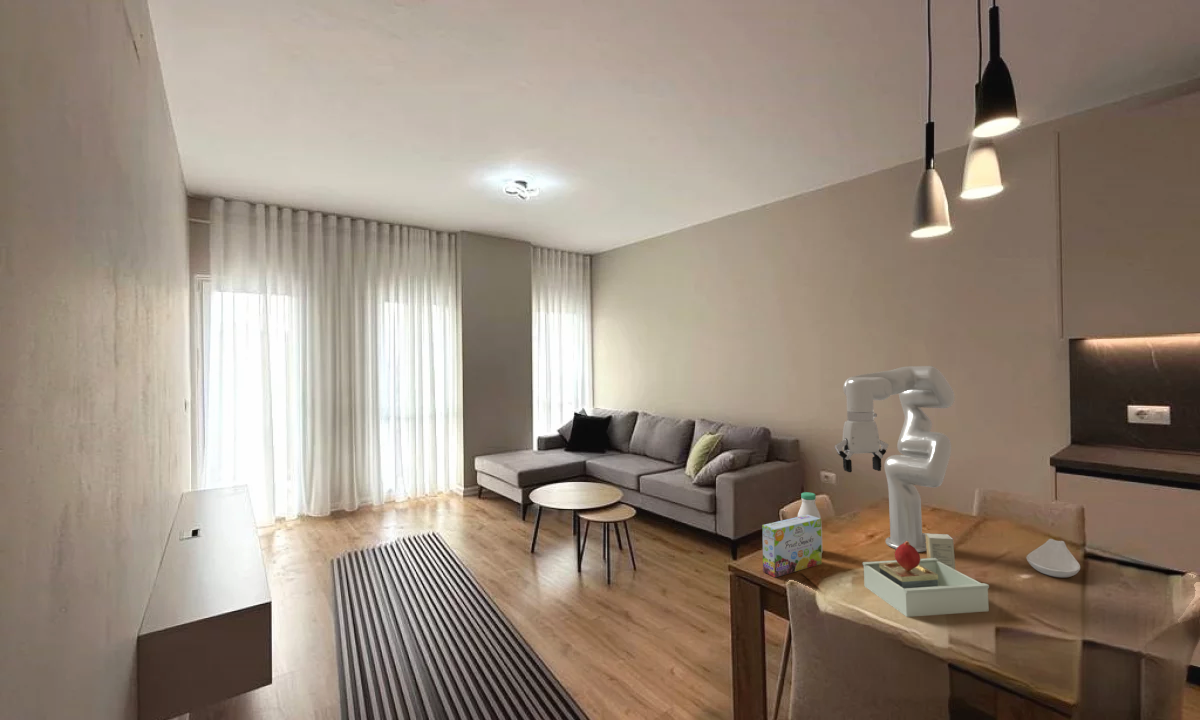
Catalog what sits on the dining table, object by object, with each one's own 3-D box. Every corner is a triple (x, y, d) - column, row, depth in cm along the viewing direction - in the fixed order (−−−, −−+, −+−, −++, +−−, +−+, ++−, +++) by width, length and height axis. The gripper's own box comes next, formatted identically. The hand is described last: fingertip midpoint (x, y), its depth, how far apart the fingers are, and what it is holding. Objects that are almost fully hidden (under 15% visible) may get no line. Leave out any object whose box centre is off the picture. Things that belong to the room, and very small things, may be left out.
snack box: (776, 579, 145) (774, 529, 146) (762, 572, 150) (760, 524, 151) (823, 564, 155) (821, 517, 155) (808, 558, 160) (807, 513, 160)
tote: (936, 583, 139) (934, 557, 139) (990, 614, 121) (988, 585, 122) (863, 588, 138) (862, 562, 138) (907, 620, 120) (906, 590, 120)
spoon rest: (1079, 586, 135) (1078, 561, 135) (1024, 574, 144) (1023, 550, 144) (1083, 562, 151) (1082, 539, 152) (1033, 552, 160) (1032, 530, 160)
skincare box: (951, 574, 145) (949, 534, 145) (956, 581, 140) (954, 539, 141) (926, 572, 147) (924, 532, 147) (931, 578, 143) (929, 537, 143)
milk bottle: (818, 547, 169) (815, 490, 169) (826, 556, 161) (823, 496, 162) (795, 547, 170) (793, 490, 170) (802, 555, 162) (800, 496, 162)
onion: (890, 566, 132) (889, 537, 132) (910, 565, 133) (908, 536, 133) (905, 575, 126) (904, 545, 127) (925, 574, 127) (924, 544, 127)
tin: (914, 590, 134) (913, 560, 134) (939, 605, 125) (938, 574, 125) (880, 592, 133) (879, 562, 133) (903, 608, 124) (901, 576, 124)
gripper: (878, 415, 158) (880, 467, 157) (827, 417, 156) (829, 469, 156) (894, 417, 150) (896, 472, 150) (841, 419, 149) (843, 474, 149)
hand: (862, 470), depth 153 cm, fingers open, 9 cm apart
